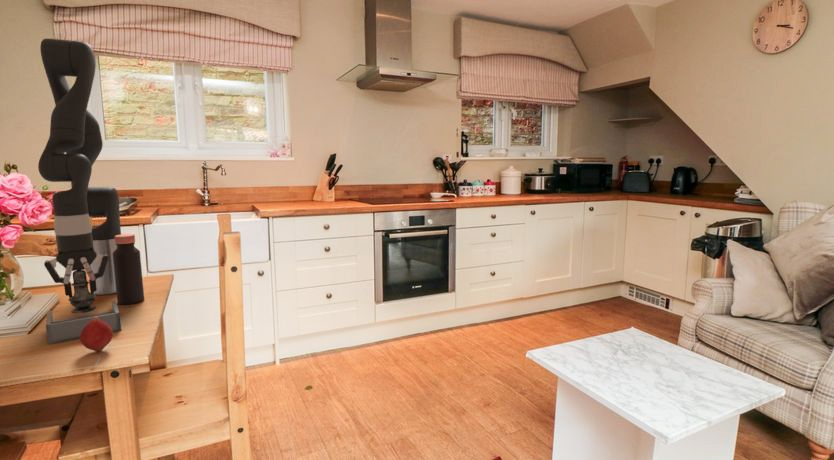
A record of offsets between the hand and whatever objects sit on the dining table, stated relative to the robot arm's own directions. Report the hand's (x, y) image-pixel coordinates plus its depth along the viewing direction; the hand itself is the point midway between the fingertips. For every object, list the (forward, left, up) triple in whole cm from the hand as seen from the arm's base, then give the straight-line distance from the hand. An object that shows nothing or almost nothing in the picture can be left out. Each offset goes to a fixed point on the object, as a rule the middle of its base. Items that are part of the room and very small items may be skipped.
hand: (81, 294), depth 118 cm
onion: (+21, +20, -6) cm, 29 cm away
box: (+9, +7, -6) cm, 13 cm away
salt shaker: (0, 0, -5) cm, 5 cm away
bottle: (-13, +4, -6) cm, 15 cm away
